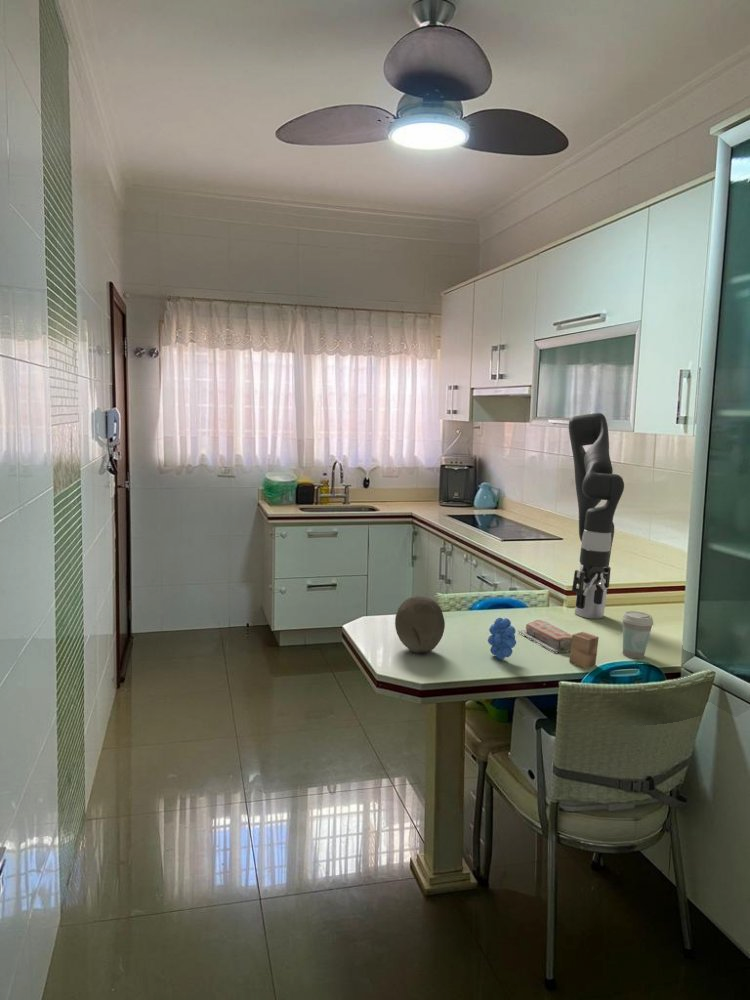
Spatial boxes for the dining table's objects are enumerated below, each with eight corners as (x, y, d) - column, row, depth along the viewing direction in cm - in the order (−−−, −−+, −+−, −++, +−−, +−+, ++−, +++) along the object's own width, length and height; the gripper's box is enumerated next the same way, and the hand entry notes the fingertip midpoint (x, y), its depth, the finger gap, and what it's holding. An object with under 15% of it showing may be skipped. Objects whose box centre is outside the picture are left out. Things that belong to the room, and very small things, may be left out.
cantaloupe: (453, 653, 200) (458, 600, 198) (417, 663, 191) (422, 608, 189) (417, 638, 211) (421, 588, 208) (381, 647, 201) (385, 594, 199)
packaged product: (583, 636, 210) (555, 639, 206) (582, 652, 211) (554, 655, 206) (545, 617, 226) (518, 619, 222) (543, 632, 227) (517, 634, 223)
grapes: (525, 666, 195) (529, 622, 193) (503, 668, 192) (508, 624, 190) (501, 650, 205) (505, 609, 204) (481, 652, 203) (485, 611, 201)
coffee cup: (625, 659, 205) (630, 618, 204) (613, 649, 214) (618, 609, 212) (654, 661, 206) (659, 620, 204) (641, 650, 214) (646, 611, 213)
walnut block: (579, 659, 203) (582, 631, 202) (595, 665, 199) (598, 637, 198) (569, 662, 200) (572, 634, 199) (585, 668, 196) (588, 640, 195)
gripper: (597, 542, 203) (591, 599, 205) (568, 546, 193) (561, 605, 195) (622, 548, 197) (615, 606, 199) (593, 552, 188) (586, 613, 190)
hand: (588, 605), depth 197 cm, fingers open, 8 cm apart
